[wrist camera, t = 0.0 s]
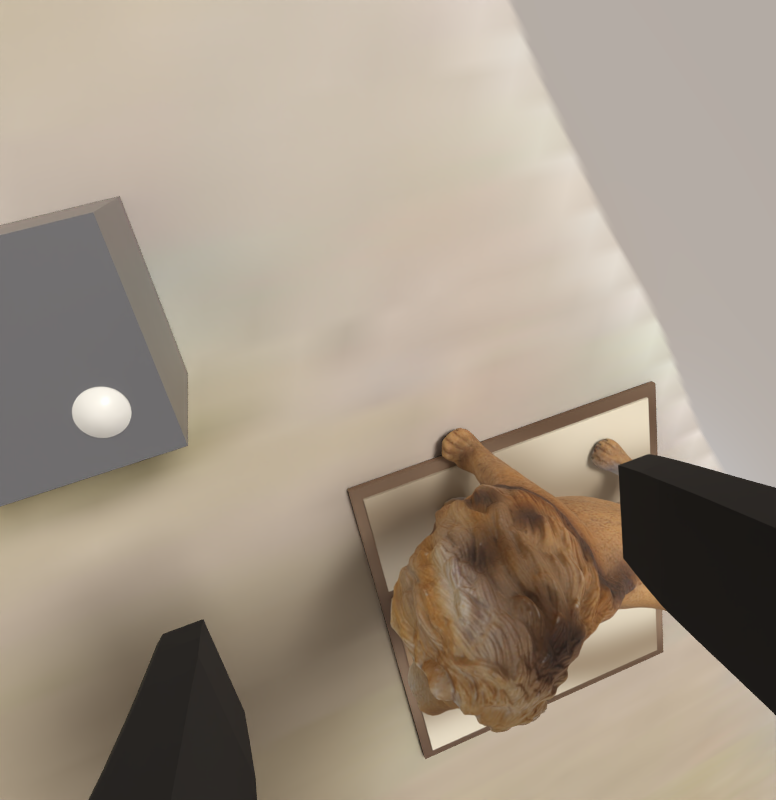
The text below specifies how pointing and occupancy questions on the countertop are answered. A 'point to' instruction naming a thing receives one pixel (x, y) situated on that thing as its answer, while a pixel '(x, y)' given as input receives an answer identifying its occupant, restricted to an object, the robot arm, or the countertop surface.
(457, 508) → the lion figurine
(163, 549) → the countertop surface
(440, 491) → the brown framed panel
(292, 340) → the countertop surface
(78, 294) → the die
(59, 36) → the countertop surface
